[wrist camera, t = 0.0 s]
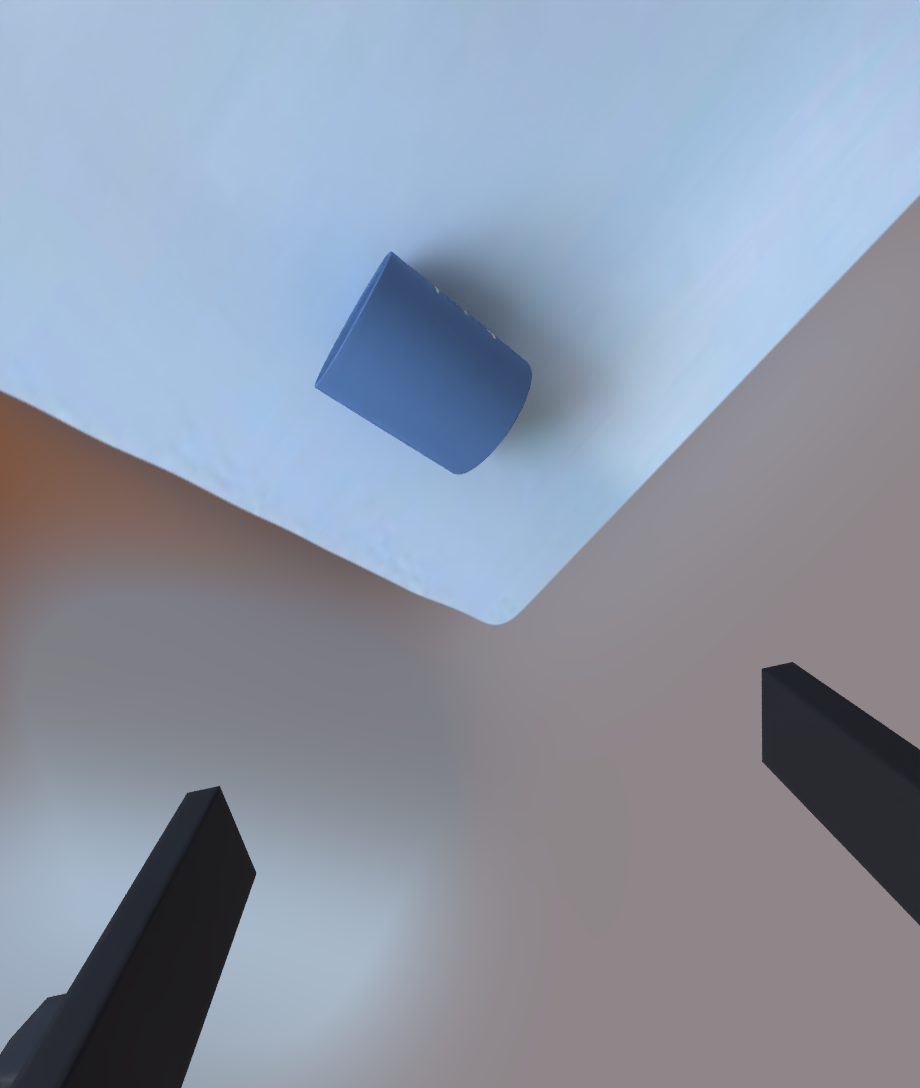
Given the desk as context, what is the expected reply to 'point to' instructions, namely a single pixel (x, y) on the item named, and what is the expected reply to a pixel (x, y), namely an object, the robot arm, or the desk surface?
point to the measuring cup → (425, 370)
